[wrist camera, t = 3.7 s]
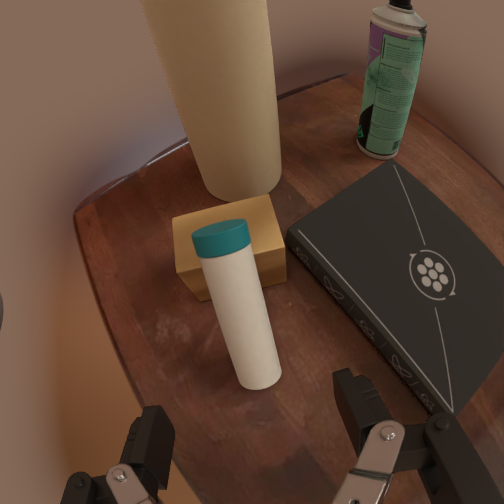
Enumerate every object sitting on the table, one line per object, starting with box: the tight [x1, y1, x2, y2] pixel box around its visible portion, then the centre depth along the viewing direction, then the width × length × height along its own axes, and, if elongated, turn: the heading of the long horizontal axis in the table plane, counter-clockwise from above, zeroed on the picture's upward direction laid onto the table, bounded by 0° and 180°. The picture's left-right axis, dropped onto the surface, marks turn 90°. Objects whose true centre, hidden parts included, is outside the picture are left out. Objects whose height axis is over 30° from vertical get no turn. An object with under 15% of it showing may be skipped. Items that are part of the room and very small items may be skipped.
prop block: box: [172, 194, 287, 302], centre depth 26 cm, size 5×8×6 cm, turn 102°
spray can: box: [357, 0, 427, 160], centre depth 25 cm, size 6×6×20 cm
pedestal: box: [140, 0, 282, 202], centre depth 23 cm, size 9×9×24 cm
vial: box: [191, 219, 281, 390], centre depth 21 cm, size 11×4×11 cm, turn 12°
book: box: [286, 158, 504, 417], centre depth 24 cm, size 22×15×3 cm
